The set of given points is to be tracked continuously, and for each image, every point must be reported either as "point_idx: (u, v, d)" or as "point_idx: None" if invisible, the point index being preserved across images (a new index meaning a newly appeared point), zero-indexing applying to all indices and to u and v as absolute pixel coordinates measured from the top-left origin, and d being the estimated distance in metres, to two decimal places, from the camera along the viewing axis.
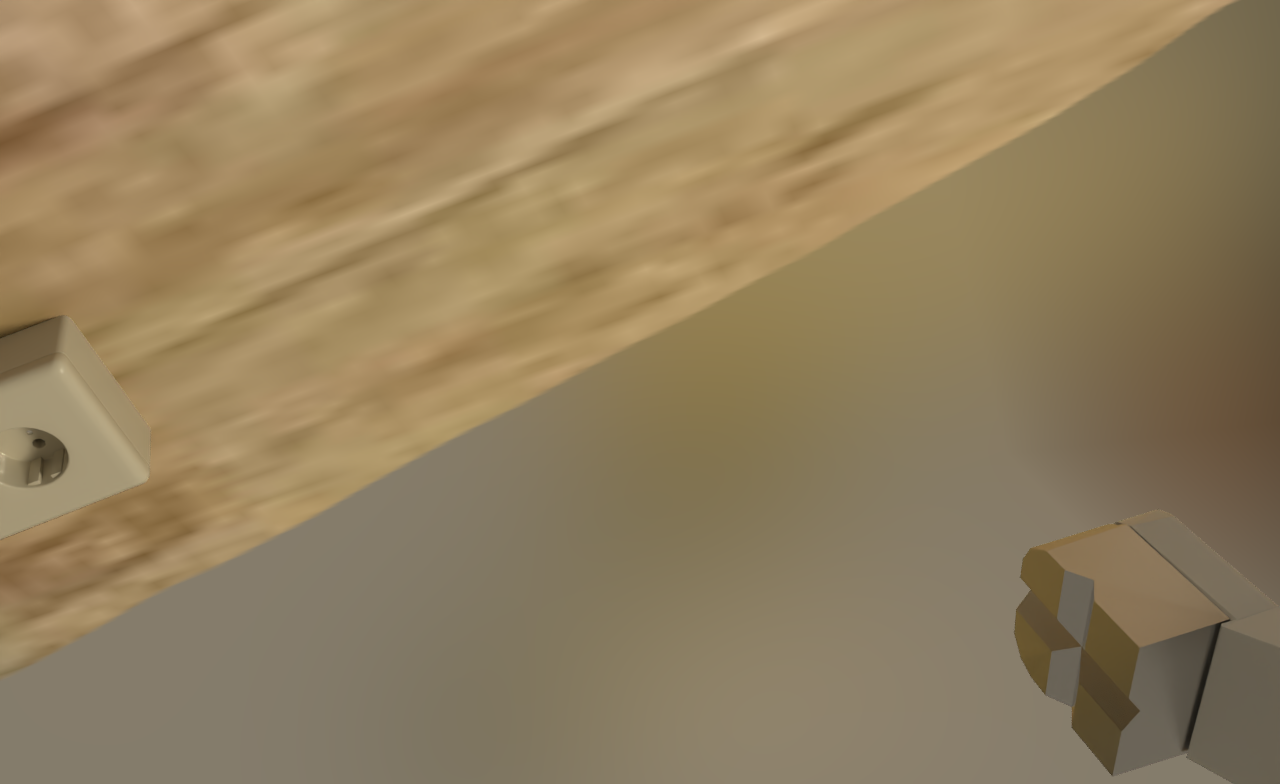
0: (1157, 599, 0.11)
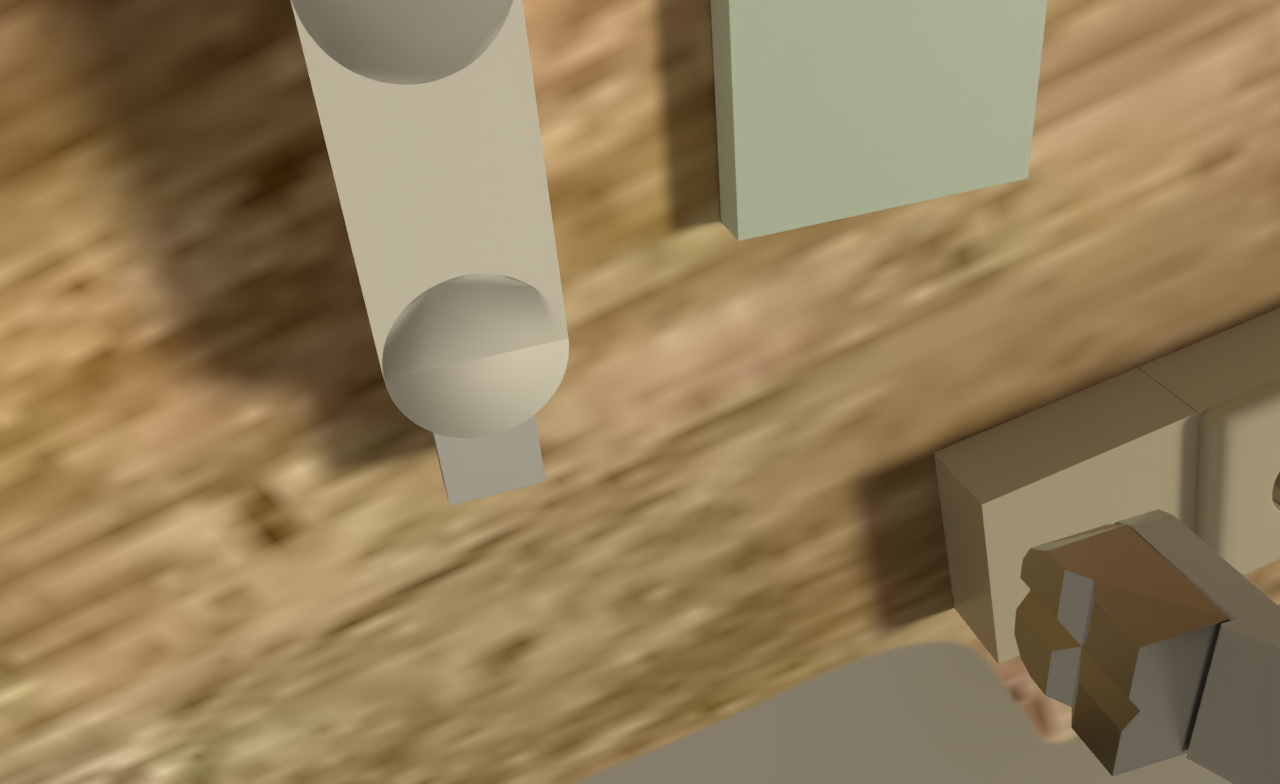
0: (1157, 599, 0.11)
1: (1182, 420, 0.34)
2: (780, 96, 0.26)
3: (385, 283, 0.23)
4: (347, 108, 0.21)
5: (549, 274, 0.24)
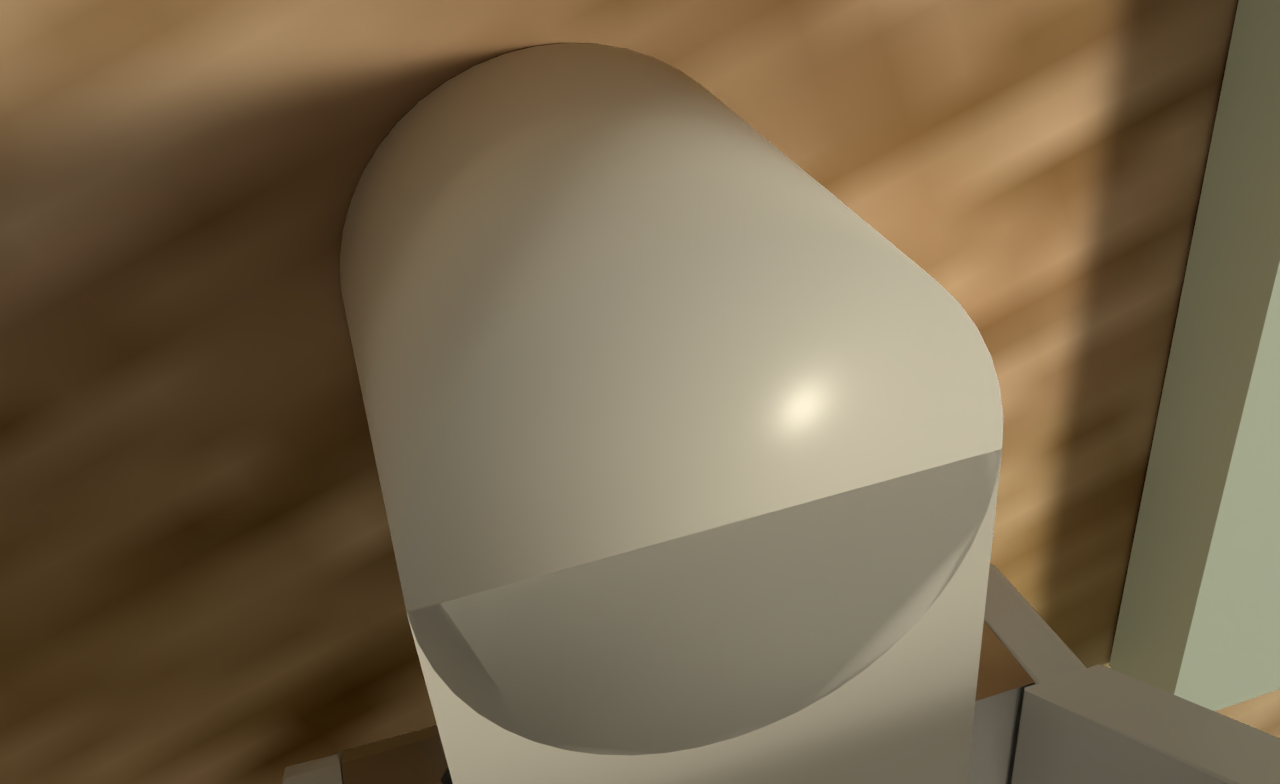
0: None
1: None
2: None
3: None
4: None
5: None
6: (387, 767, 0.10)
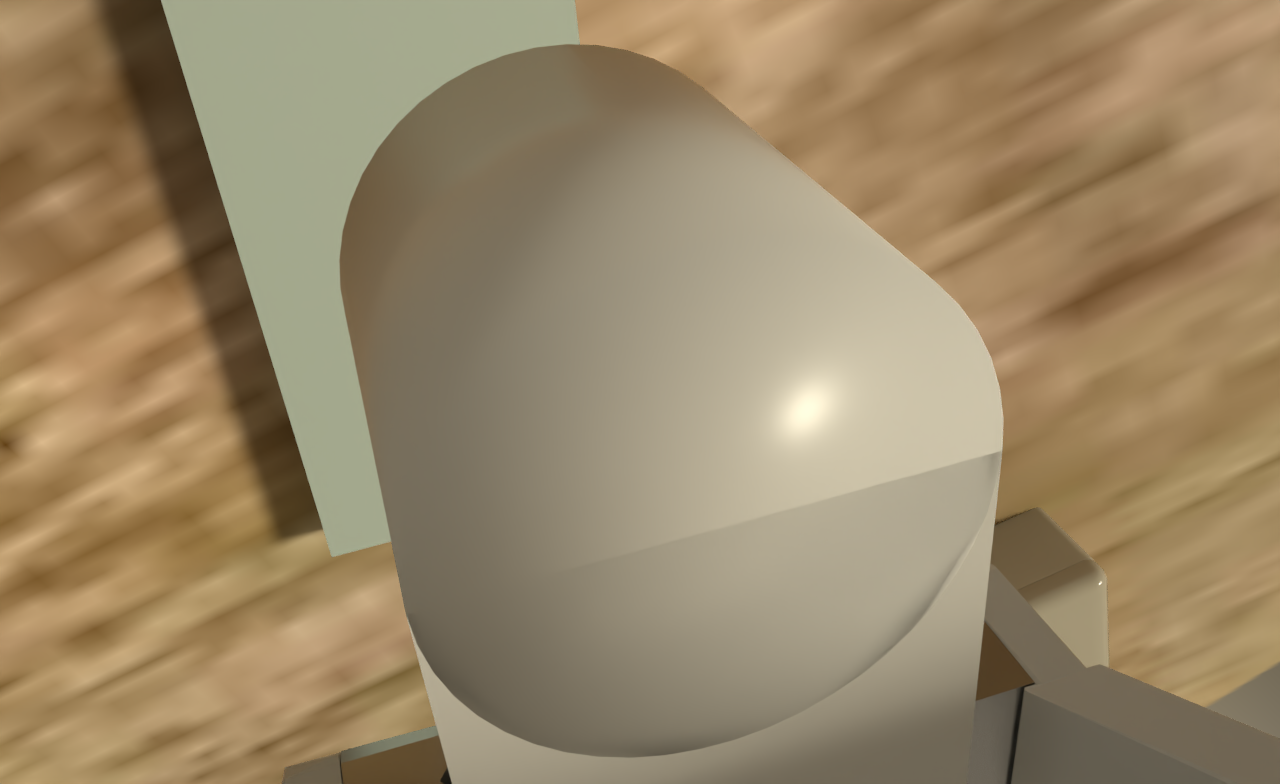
0: None
1: None
2: (347, 436, 0.28)
3: None
4: None
5: None
6: (387, 767, 0.10)
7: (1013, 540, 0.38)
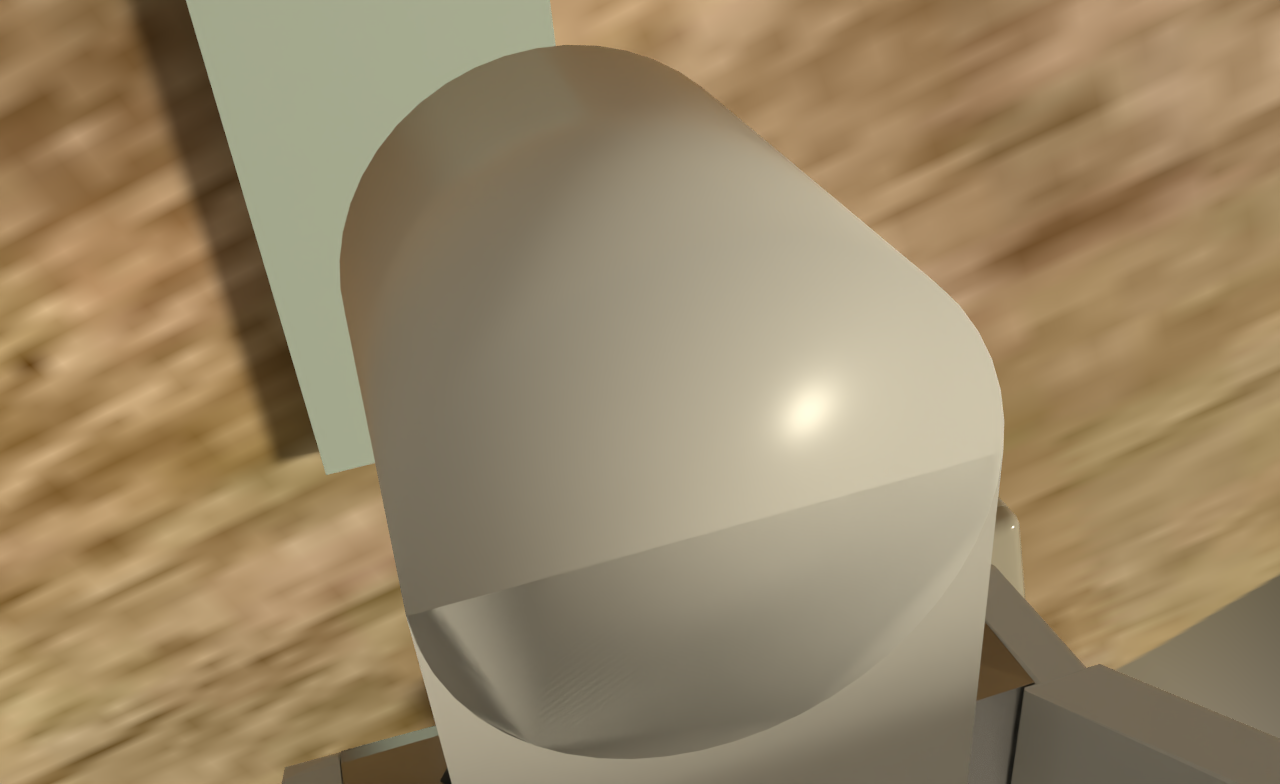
0: None
1: None
2: (340, 361, 0.30)
3: None
4: None
5: None
6: (387, 767, 0.10)
7: None
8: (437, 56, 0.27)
